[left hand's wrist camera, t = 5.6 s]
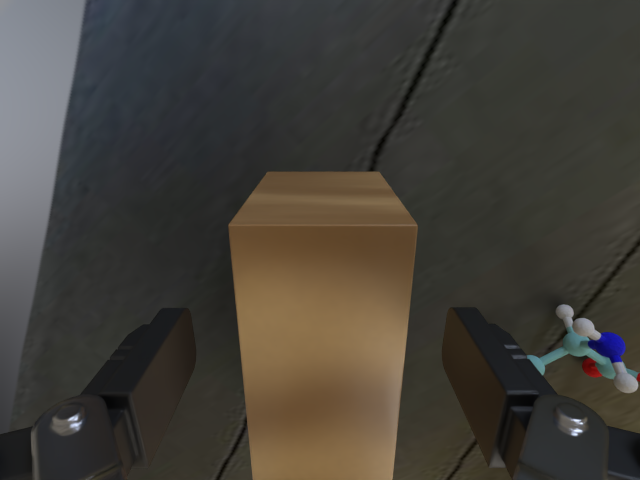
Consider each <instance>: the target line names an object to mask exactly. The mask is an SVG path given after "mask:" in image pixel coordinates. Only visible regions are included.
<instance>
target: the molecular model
mask: <svg viewBox="0 0 640 480" xmlns="http://www.w3.org/2000/svg"><path fill="white" fill-rule="evenodd" d="M556 314H557V316H558V317H559V318H561V319H563V321H564V324H565V327H566V329H567V332H568V334H567V335H566V336H565V337H564V339H563V346H562V347H560V348H558V349H556V350H554V351H552V352H550V353H548V354H547V355H545V356H543V357H541V358H538V357H536V356H533V355H527V359H530V360H531V362H532V363H533V364H534V365H535V367H536V368H537V369H538V370H539V372H540V373H541V374H542V376H543V374H544V372H545V367H544V365H546V364H548V363H550V362H552V361H554V360H556V359H558V358H560V357H562V356H564V355H566V354H568V353H570V354H571V355H574V356H578V357H579V356H585V355H587V356H588V357H590V358H588V359H586V360H584V361H583V364H582V368H583V370H584V372H585V373H586V374H587V375H589V376H591V377H600V376H602V375H603V376H605V377H607V378H610V379H614V385H615V386H616V388H617V389H619V390H620V391H622V392H625V393H632V392H634V391H636V390H637V388H638V382H637V381H639V382H640V373H638V372H635V371H633V370H630V369H627V368H626V367H625V364H624V363H623V361H622V360H621V358H620V356H621V355H622V354H623V353H624V352H625V343H624V341H623V340H622V338H621V337H620V336H618V335H616V334H614V333H610V332H604V333H599V332H597V331H596V330H594V325H593V323H592V322H591V321H590V320H588V319H585V318H579V319H576V320H575V321H574V322H573V321H572V316H573V314H574V312H573V309H572V308H571V307H570V306H568V305H559V306H558V307H557V308H556ZM587 336H588V337H590V338H591V339H593V340H589V339H588V337H587ZM592 349H596V350H597V352H598V353H599V354H598V353H596V352H595V351H593V350H592ZM600 354H601V355H602V356H601V355H600Z"/></svg>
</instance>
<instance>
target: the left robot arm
mask: <svg viewBox="0 0 640 480" xmlns="http://www.w3.org/2000/svg"><path fill="white" fill-rule="evenodd" d="M442 361H443V366H444V369H445V372H446V374H447V376H448V378H449V380H450V383H451V385H452V387H453V389H454V391H455V394H456V396H457V398H458V400H459V402H460V405H461V407H462V409H463V411H464V413H465V416H466V418H467V420H468V422H469V424H470V427H471V429H472V431H473V433H474V435H475V438H476V440H477V442H478V444H479V446H480V449H481V451H482V453H483V455H484V457H485V460H486V462H487V464H488V466H489V468H507V470H508V472H509V474H510V476H511V478H512V480H640V434H639V433H635V432H631V431H626V430H622V429H618V428H614V427H610V426H607V425H606V424H605V422H604V421H603V420H602V418H601V417H600V416H599V415H598V414H597V413H596V412H594V411H593V410H592V409H591V408H589V407H587V406H586V405H584V404H582V403H581V402H579V401H576V400H574V399H572V398H569V397H565V396H561V395H558V394H557V393H556V392H555V391H554V389H553V388H552V387H551V386H550V384H549V383H548V382H547V381H546V379H545V378H544V377H543V376H542V374H541V373H540V372H539V370H538V369H537V368H536V367H535V365H534V364H533V363H532V362H531V360H530V359H527V355H526V354H525V353H524V352H523V350H522V349H520V348H519V345H518V344H517V343H516V342H515V340H514V339H513V338H512V337H511V335H510V334H509V333H507V332H506V331H504V330H503V329H501V328H500V327H498V326H497V325H496V324H488V323H487V321H486V320H485V319H484V317H483V316H482V315H481V313H480V312H479V311H478V309H477V308H449V310H448V313H447V319H446V326H445V332H444V339H443V346H442ZM195 362H196V346H195V339H194V332H193V326H192V319H191V313H190V311H189V309H188V308H162V309H161V310H160V311H159V312H158V314H157V315H156V316H155V318H154V319H153V320H152V322H151V323H150V324H149V325H142V326H140V327H139V328H137V329H136V330H135V331H133V332H132V333H130V334H129V335H128V336H127V337H126V338H125V339H124V341H123V342H122V343H121V344H120V346H119V347H118V350H116V351H115V352H114V353H113V354H112V356H111V357H110V360H108V361H107V362H106V363H105V364H104V366H103V367H102V368H101V369H100V371H99V372H98V373H97V374H96V376H95V377H94V378H93V379H92V380H91V382H90V383H89V384H88V385H87V387H86V388H85V389H84V390H83V392H82V393H81V394H80V395H79V396H75V397H71V398H68V399H66V400H64V401H61V402H59V403H58V404H56V405H54V406H53V407H51V408H49V409H48V410H47V411H46V412H44V413H43V414H42V415H41V416H40V417H39V418H38V420H37V421H36V422H35V424H34V425H33V426H32V427H28V428H25V429H20V430H16V431H12V432H8V433H4V434H0V480H127V476H128V474H129V472H130V470H131V469H148V468H149V466H150V464H151V462H152V459H153V457H154V455H155V453H156V451H157V449H158V446H159V444H160V442H161V440H162V438H163V436H164V433H165V431H166V429H167V427H168V425H169V422H170V420H171V418H172V416H173V414H174V412H175V409H176V407H177V405H178V403H179V401H180V399H181V396H182V394H183V392H184V390H185V388H186V386H187V383H188V381H189V379H190V377H191V375H192V373H193V370H194V367H195Z"/></svg>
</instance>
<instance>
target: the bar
mask: <svg viewBox="0 0 640 480" xmlns="http://www.w3.org/2000/svg"><path fill="white" fill-rule="evenodd" d="M228 229H229V239H230V250H231V260H232V270H233V280H234V291H235V301H236V311H237V321H238V332H239V342H240V352H241V362H242V373H243V383H244V393H245V403H246V414H247V424H248V434H249V444H250V455H251V465H252V475H253V480H392V478H393V468H394V458H395V449H396V439H397V429H398V419H399V409H400V399H401V389H402V379H403V369H404V359H405V349H406V339H407V329H408V319H409V310H410V300H411V290H412V280H413V270H414V260H415V250H416V240H417V230H418V225H417V223H416V222H415V221H414V219H413V218H412V217H411V215H410V214H409V212H408V211H407V210H406V208H405V207H404V206H403V204H402V203H401V201H400V200H399V199H398V197H397V196H396V194H395V193H394V192H393V190H392V189H391V188H390V186H389V185H388V183H387V182H386V181H385V179H384V178H383V177H382V175H381V174H380V172H267V173H266V175H265V176H264V177H263V179H262V180H261V181H260V183H259V184H258V185H257V187H256V188H255V189H254V191H253V192H252V194H251V195H250V196H249V198H248V199H247V200H246V202H245V203H244V204H243V206H242V207H241V208H240V210H239V211H238V212H237V214H236V215H235V217H234V218H233V219H232V221H231V222H230V223H229V225H228Z"/></svg>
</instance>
